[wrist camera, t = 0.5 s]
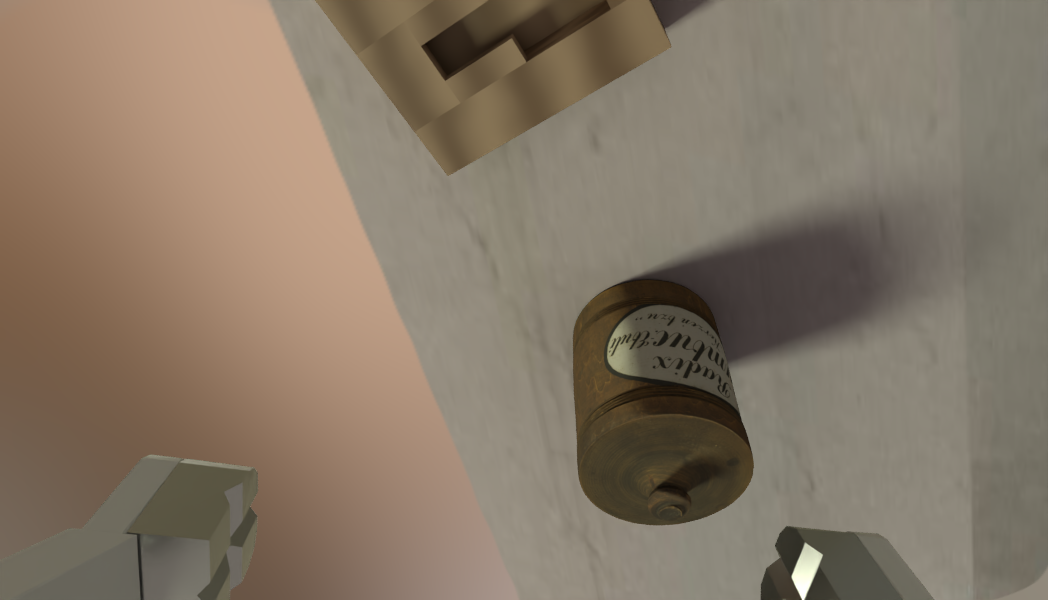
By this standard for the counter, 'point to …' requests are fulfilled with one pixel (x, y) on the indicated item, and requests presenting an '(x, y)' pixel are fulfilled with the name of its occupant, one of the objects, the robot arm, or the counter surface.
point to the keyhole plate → (492, 61)
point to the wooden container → (656, 407)
